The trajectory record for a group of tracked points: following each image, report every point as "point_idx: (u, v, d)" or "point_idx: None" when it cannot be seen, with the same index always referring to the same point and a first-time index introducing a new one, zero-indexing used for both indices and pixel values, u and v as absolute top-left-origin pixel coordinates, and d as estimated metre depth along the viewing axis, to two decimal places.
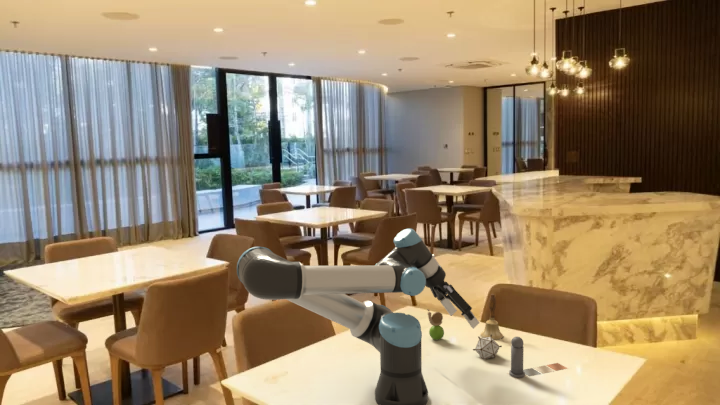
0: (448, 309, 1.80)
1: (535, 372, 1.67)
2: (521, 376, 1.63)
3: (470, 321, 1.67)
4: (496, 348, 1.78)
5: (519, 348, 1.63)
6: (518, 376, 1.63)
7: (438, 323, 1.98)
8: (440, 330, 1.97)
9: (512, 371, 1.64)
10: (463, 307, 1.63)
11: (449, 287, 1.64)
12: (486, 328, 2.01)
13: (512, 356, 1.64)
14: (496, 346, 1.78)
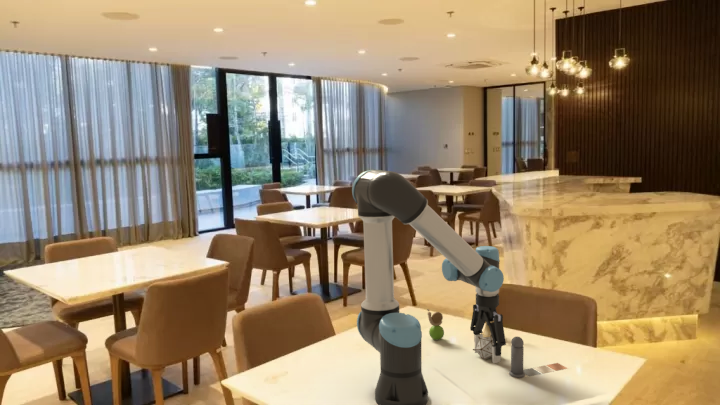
0: None
1: (535, 372, 1.67)
2: (521, 376, 1.63)
3: (495, 357, 1.75)
4: None
5: (519, 348, 1.63)
6: (518, 376, 1.63)
7: (438, 323, 1.98)
8: (440, 330, 1.97)
9: (512, 371, 1.64)
10: (500, 339, 1.72)
11: (500, 316, 1.72)
12: (486, 328, 2.01)
13: (512, 356, 1.64)
14: None
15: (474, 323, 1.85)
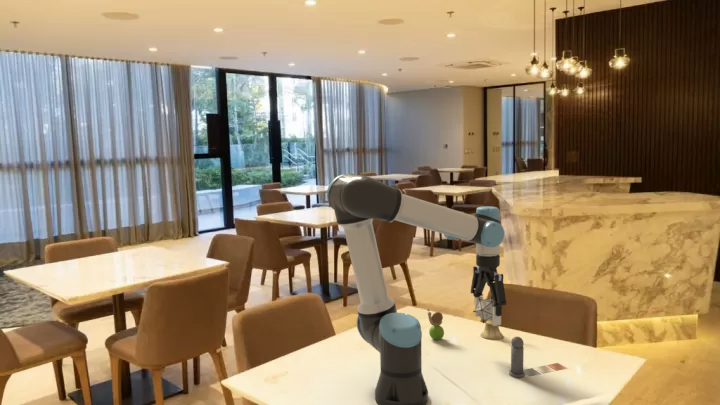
0: None
1: (535, 372, 1.67)
2: (521, 376, 1.63)
3: (495, 317, 1.73)
4: None
5: (519, 348, 1.63)
6: (518, 376, 1.63)
7: (438, 323, 1.98)
8: (440, 330, 1.97)
9: (512, 371, 1.64)
10: (500, 299, 1.70)
11: (500, 275, 1.71)
12: (486, 328, 2.01)
13: (512, 356, 1.64)
14: None
15: (474, 285, 1.84)
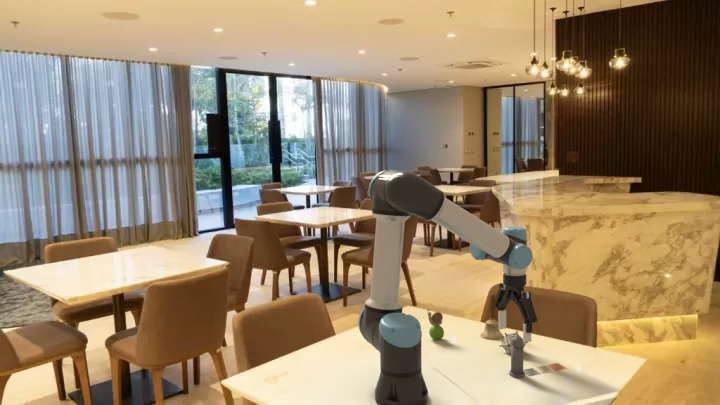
0: (501, 322, 1.88)
1: (535, 372, 1.67)
2: (521, 376, 1.63)
3: (526, 334, 1.75)
4: (523, 344, 1.81)
5: (519, 348, 1.63)
6: (518, 376, 1.63)
7: (438, 323, 1.98)
8: (440, 330, 1.97)
9: (512, 371, 1.64)
10: (531, 316, 1.72)
11: (528, 293, 1.74)
12: (486, 328, 2.01)
13: (512, 356, 1.64)
14: None
15: (498, 300, 1.88)
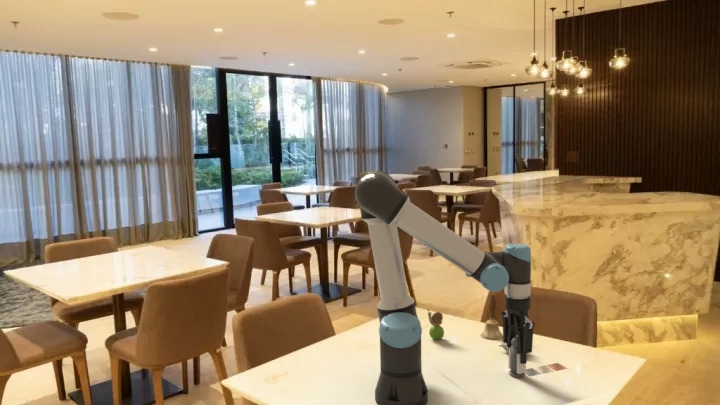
0: None
1: (535, 372, 1.67)
2: (521, 376, 1.63)
3: (519, 365, 1.62)
4: None
5: None
6: (518, 376, 1.63)
7: (438, 323, 1.98)
8: (440, 330, 1.97)
9: (512, 371, 1.64)
10: (527, 347, 1.59)
11: (532, 324, 1.57)
12: (486, 328, 2.01)
13: (512, 356, 1.64)
14: None
15: (506, 333, 1.68)
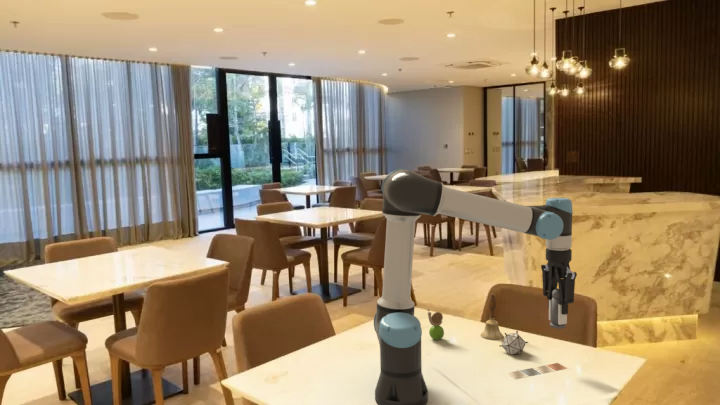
0: (551, 312, 1.70)
1: (535, 372, 1.67)
2: (562, 327, 1.67)
3: (561, 316, 1.66)
4: (523, 344, 1.81)
5: None
6: (559, 327, 1.67)
7: (438, 323, 1.98)
8: (440, 330, 1.97)
9: (553, 322, 1.68)
10: (569, 297, 1.63)
11: (574, 274, 1.61)
12: (486, 328, 2.01)
13: (553, 307, 1.68)
14: (522, 342, 1.81)
15: (546, 286, 1.72)
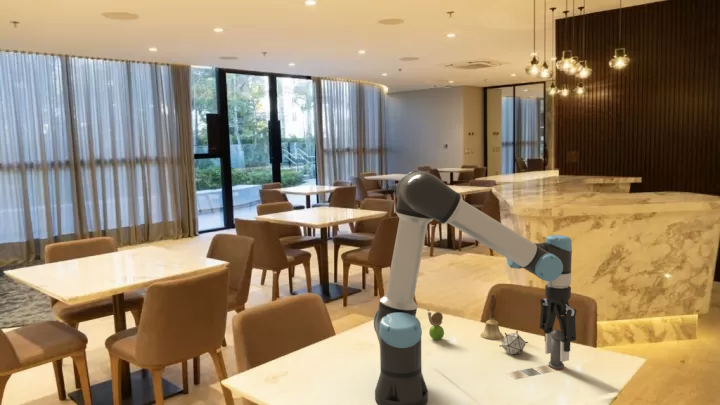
0: (548, 345, 1.72)
1: (535, 372, 1.67)
2: (561, 367, 1.69)
3: (563, 353, 1.66)
4: (523, 344, 1.81)
5: (559, 340, 1.68)
6: (558, 368, 1.68)
7: (438, 323, 1.98)
8: (440, 330, 1.97)
9: (552, 363, 1.70)
10: (571, 335, 1.63)
11: (573, 311, 1.62)
12: (486, 328, 2.01)
13: (552, 348, 1.69)
14: (523, 342, 1.81)
15: (544, 320, 1.74)
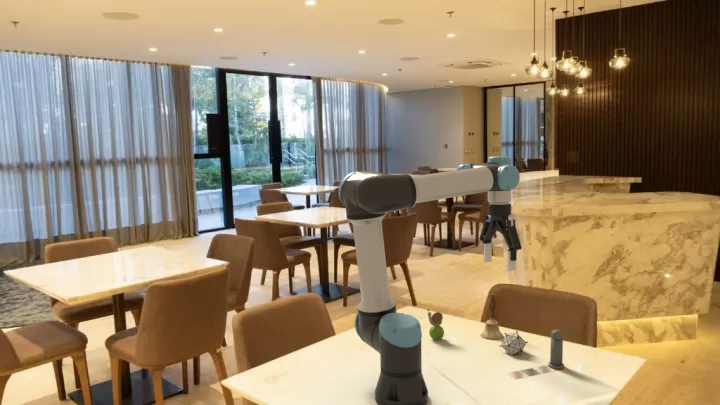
0: (486, 255, 1.86)
1: (535, 372, 1.67)
2: (561, 367, 1.69)
3: (510, 262, 1.74)
4: (523, 344, 1.81)
5: (559, 340, 1.68)
6: (558, 368, 1.68)
7: (438, 323, 1.98)
8: (440, 330, 1.97)
9: (551, 363, 1.70)
10: (515, 242, 1.71)
11: (512, 220, 1.73)
12: (486, 328, 2.01)
13: (552, 348, 1.69)
14: (523, 342, 1.81)
15: (484, 233, 1.87)
